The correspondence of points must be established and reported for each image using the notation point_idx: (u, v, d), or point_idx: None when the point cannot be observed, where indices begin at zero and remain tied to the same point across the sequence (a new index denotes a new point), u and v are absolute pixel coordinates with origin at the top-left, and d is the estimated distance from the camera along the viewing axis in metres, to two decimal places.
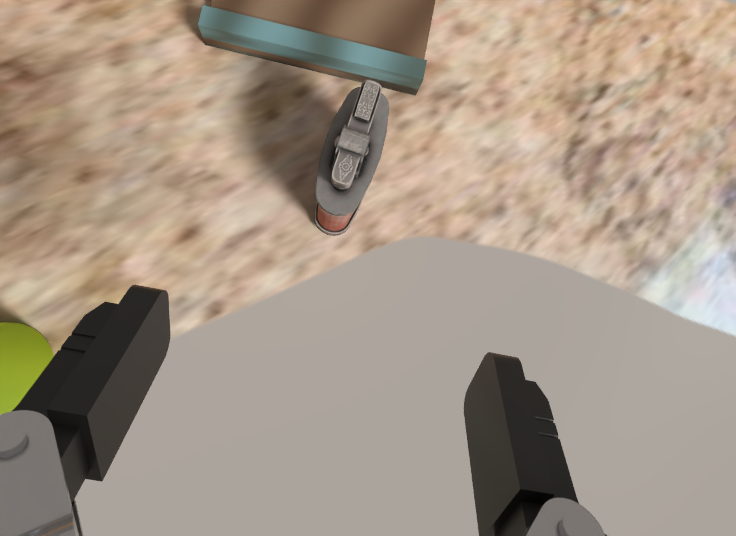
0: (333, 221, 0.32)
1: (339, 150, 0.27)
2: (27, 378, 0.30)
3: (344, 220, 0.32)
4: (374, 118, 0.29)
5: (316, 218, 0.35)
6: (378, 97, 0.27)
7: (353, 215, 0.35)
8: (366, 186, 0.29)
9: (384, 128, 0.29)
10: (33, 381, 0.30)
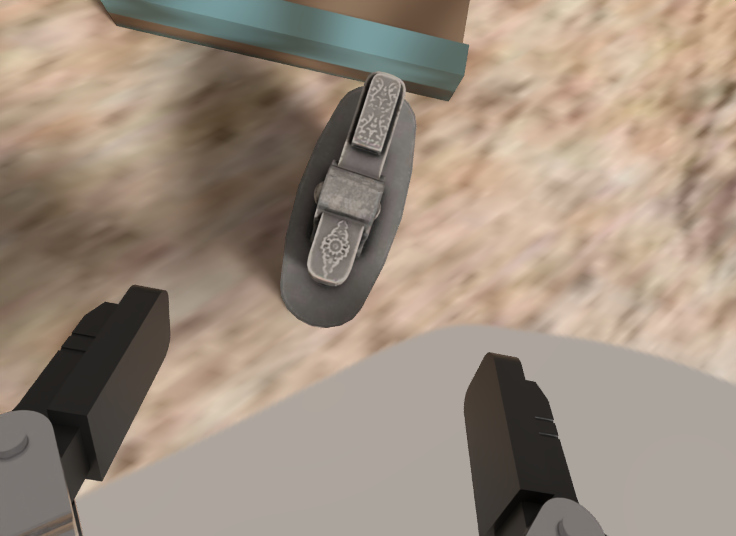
0: None
1: (321, 213, 0.13)
2: None
3: None
4: (389, 144, 0.16)
5: None
6: (399, 105, 0.14)
7: None
8: (376, 272, 0.15)
9: (408, 162, 0.16)
10: None
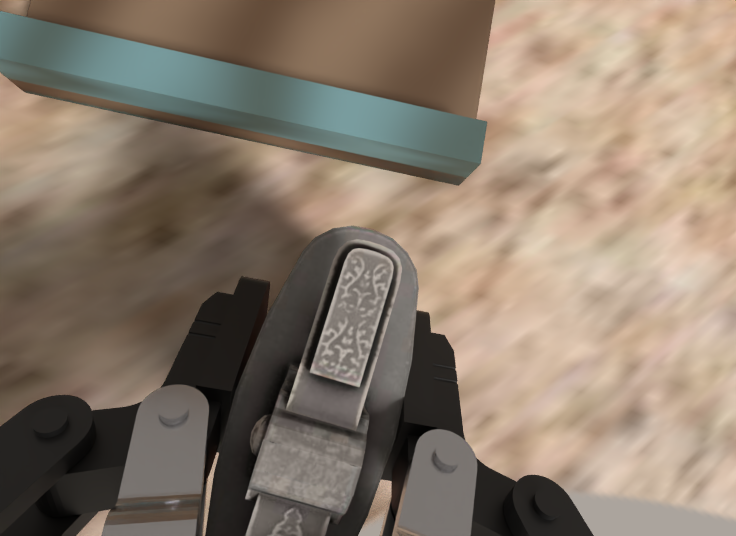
0: None
1: (257, 495, 0.08)
2: None
3: None
4: None
5: None
6: (391, 296, 0.08)
7: None
8: (356, 527, 0.10)
9: (406, 346, 0.10)
10: None
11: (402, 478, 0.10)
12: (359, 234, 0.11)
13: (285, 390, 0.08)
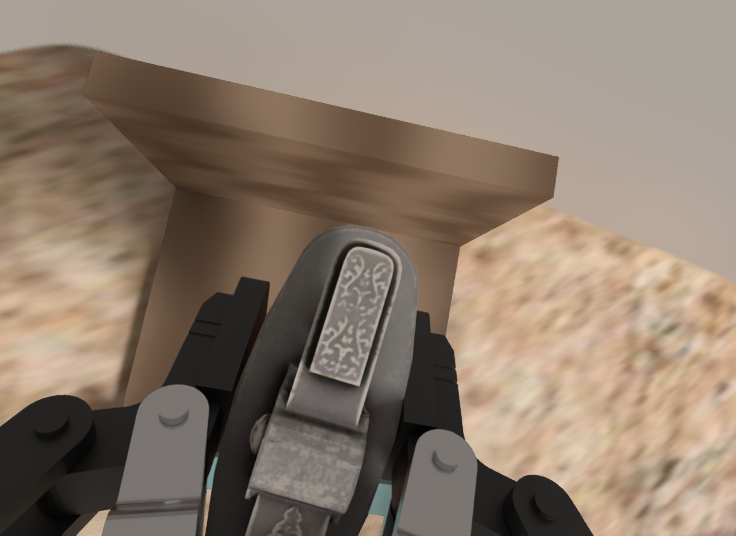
0: None
1: (257, 494, 0.08)
2: None
3: None
4: None
5: None
6: (391, 295, 0.08)
7: None
8: (356, 527, 0.10)
9: (406, 345, 0.10)
10: None
11: (402, 478, 0.10)
12: (359, 233, 0.11)
13: (285, 389, 0.08)
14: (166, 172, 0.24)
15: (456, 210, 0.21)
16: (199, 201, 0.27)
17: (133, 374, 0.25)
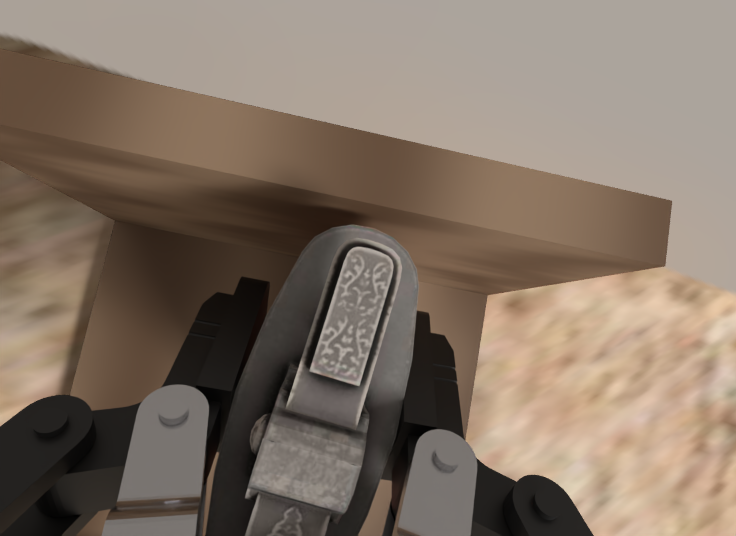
0: None
1: (256, 494, 0.08)
2: None
3: None
4: None
5: None
6: (391, 295, 0.08)
7: None
8: (356, 527, 0.10)
9: (406, 345, 0.10)
10: None
11: (402, 478, 0.10)
12: (359, 233, 0.11)
13: (285, 389, 0.08)
14: (92, 205, 0.17)
15: (497, 266, 0.15)
16: (146, 238, 0.20)
17: None
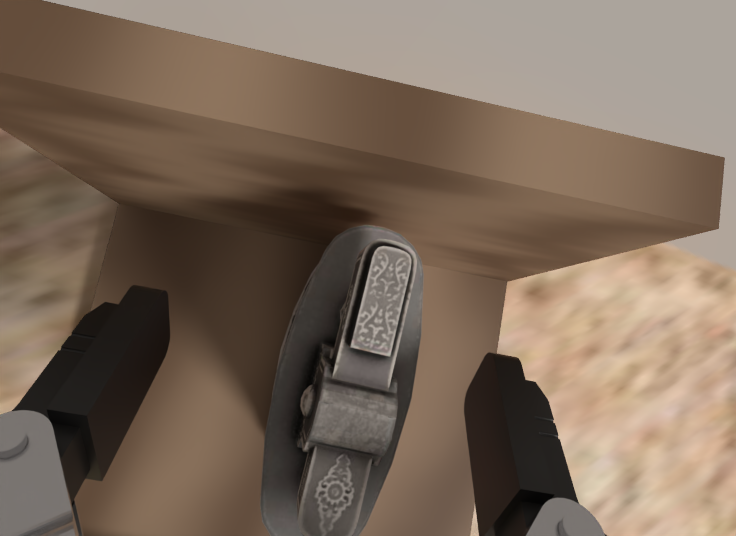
0: None
1: (313, 446, 0.10)
2: None
3: None
4: None
5: None
6: (409, 283, 0.10)
7: None
8: (383, 473, 0.12)
9: (416, 323, 0.12)
10: None
11: None
12: (372, 232, 0.12)
13: (328, 363, 0.10)
14: (94, 183, 0.17)
15: (524, 241, 0.14)
16: (151, 222, 0.19)
17: None
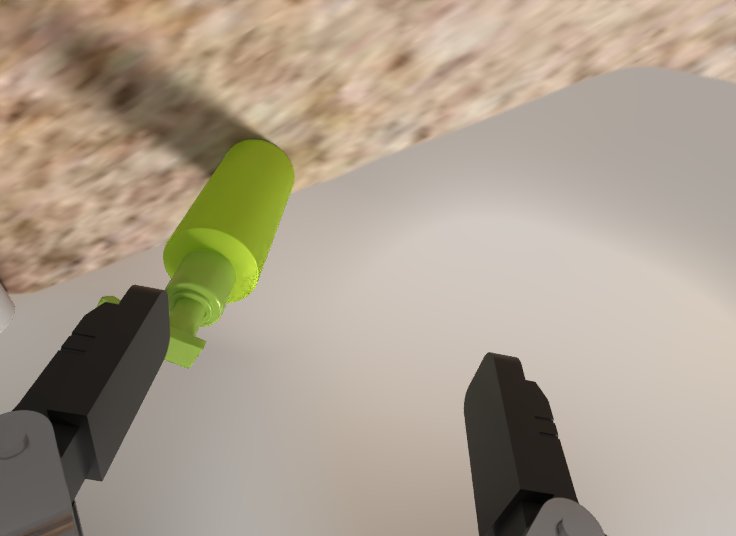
0: None
1: None
2: (287, 197, 0.39)
3: None
4: None
5: None
6: None
7: None
8: None
9: None
10: (289, 194, 0.39)
11: None
12: None
13: None
14: None
15: None
16: None
17: None
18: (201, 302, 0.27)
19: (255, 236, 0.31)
